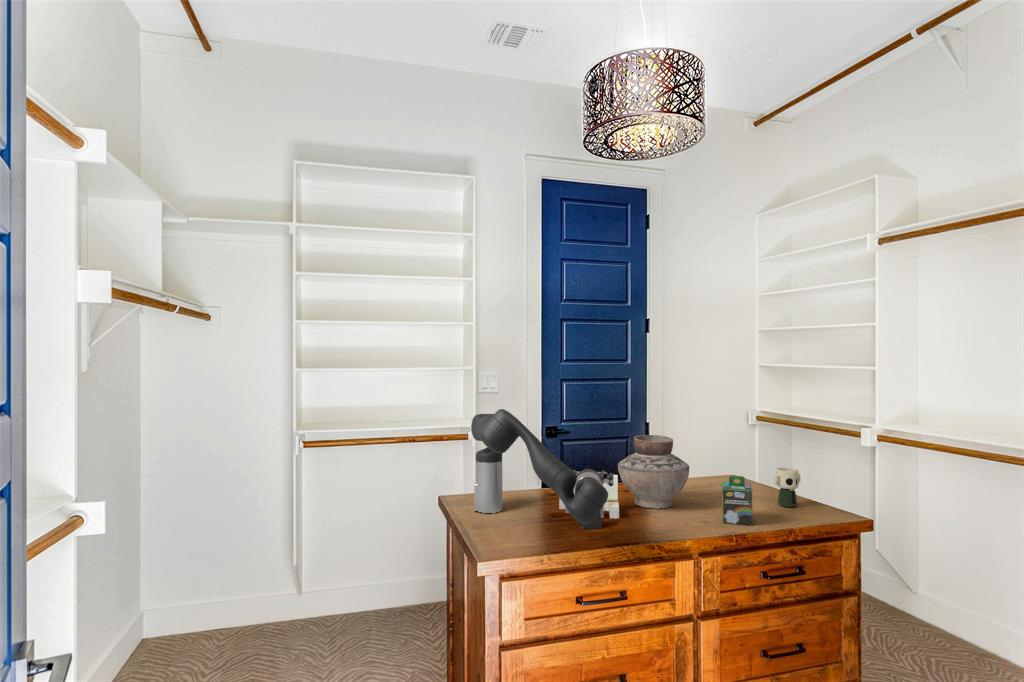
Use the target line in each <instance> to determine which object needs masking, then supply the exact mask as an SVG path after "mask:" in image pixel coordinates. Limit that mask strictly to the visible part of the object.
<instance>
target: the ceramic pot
mask: <svg viewBox="0 0 1024 682" xmlns="http://www.w3.org/2000/svg"><path fill="white" fill-rule="evenodd" d="M673 446H674V439H673V437H668V436H664V435H660V434H659V435H657V434H643V435H641V434H640V435H636V436H634V437H633V449H634V451H635V452H634V453H631V454H630V455H628V456H626V457H625V458H624V459H622V460H620V461H619V462H618V463H617V471H618V473H619V477H620V480H621V481H622V484H623V486H625V488H626V489H627V490H628V492H629V493H631V494H632V495H633V496H634V503H635V505H636V506H639V507H642V508H647V509H655V510H657V509H659V510H660V508H662V509H668V508H670V507H671V506H672V502H673V501H672V499H673V498H675V497H676V496H677V495H678V494H680V492H681V491H682V490H683V488H684V487H685V485H686V483H687V481H688V478H689V475H690V465H689V464H688V463H687V462H685V461H684V460H683V459H681V458H680V457H678V456H676V455H675V454H672V452H673V448H674V447H673Z"/></svg>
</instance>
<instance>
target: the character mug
mask: <svg viewBox="0 0 1024 682" xmlns="http://www.w3.org/2000/svg"><path fill="white" fill-rule="evenodd" d="M773 480H774V481H773V482H774V485H776V486H777V487H778V488H780V489H779V491H778V497H777V498H778V499H777V504H779V505H781V506H782V507H787V508H789V507H790V508H794V507H798V501H797V493H796V491H795V490H796V489H798V487H799V486H800V485H799V484H800V483H801V474H800V473H799V470H798V469H796V468H793V467H785V466H784V467H783V466H782V467H777V468H776V473H775V475H774V479H773Z"/></svg>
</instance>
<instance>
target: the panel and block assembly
mask: <svg viewBox="0 0 1024 682" xmlns="http://www.w3.org/2000/svg"><path fill="white" fill-rule="evenodd" d="M618 479H619V476H618V474H613V480H614V482H613V486H609V485H607V483H604V484H603V487H604V488H605V489H606V490H607V492H608V499H607V500H619V497H618V496H619V494H618V491H619V490H618V489H619V486H618V485H619V483H618V481H619V480H618ZM574 490H575V487H574ZM558 498H559V497H558ZM558 501H559V502H558V503H559V505H558V506H559V507H558V508H559V510H564V511H565V512H564V513H565V514H570V513H569V511H568V510H567V508H566V506H565V505H564V503H563V502H562V500H561V499H560V498H559V499H558ZM619 504H620V503H615V502H606V503H605V504H604V512H605V511H606V512H608V515H609V519H613V518H614V519H617V518H618V519H620V505H619Z"/></svg>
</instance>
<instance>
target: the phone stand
mask: <svg viewBox="0 0 1024 682" xmlns="http://www.w3.org/2000/svg"><path fill="white" fill-rule="evenodd" d="M574 520H575V519H574ZM575 523H576V524H577V525H578V526H579V527H580V528H581V529H582V530H585V531H586V529H588V530H602V529H603V527H602V526H603V524H602V518H601V514H600V512H599V513H598V515H597V516H596V518H595V519H594V521H593V522H592V523H590V524H582V523H580V522H578V521H576V520H575Z"/></svg>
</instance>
